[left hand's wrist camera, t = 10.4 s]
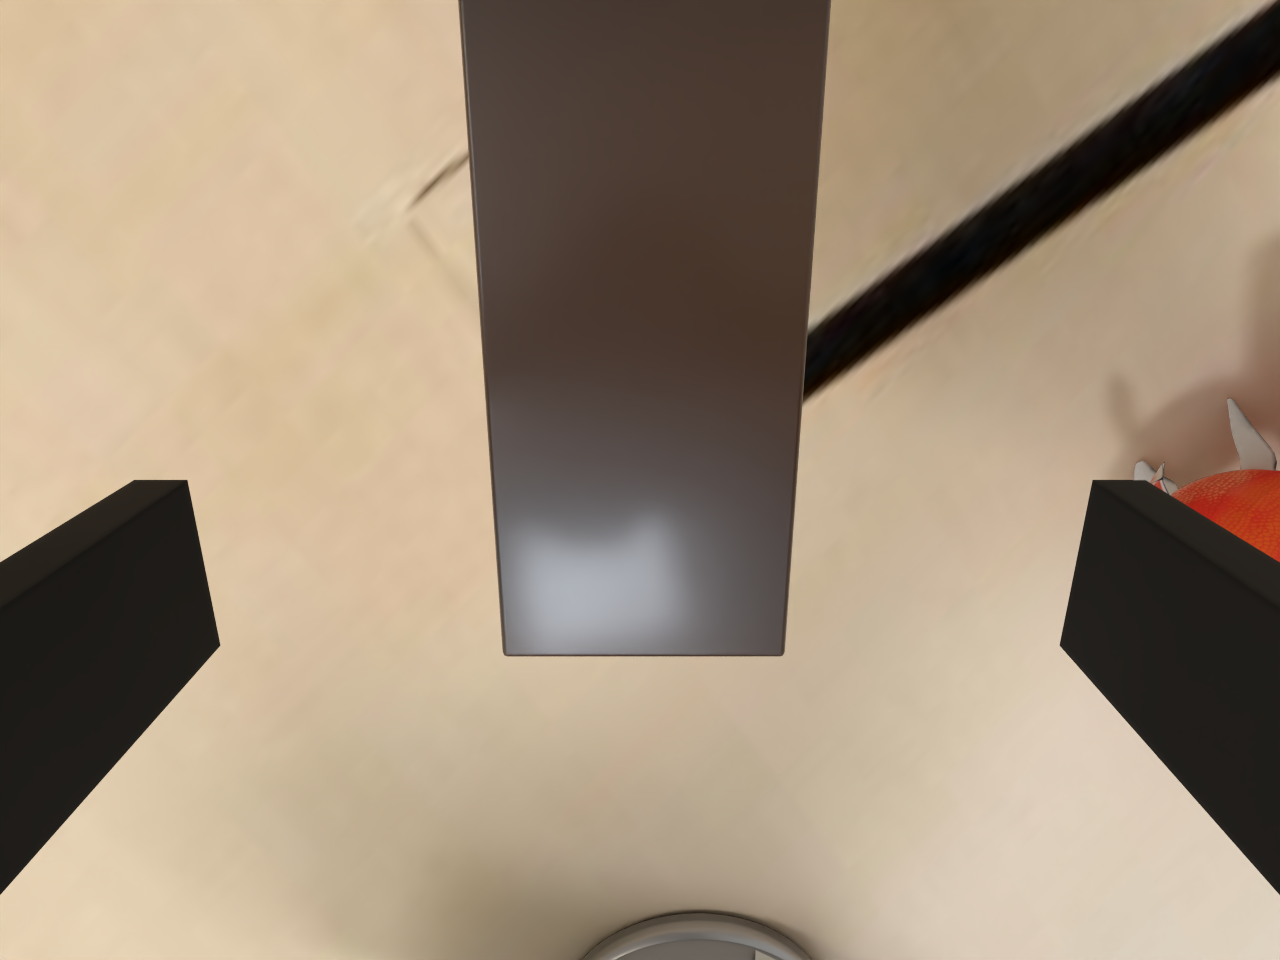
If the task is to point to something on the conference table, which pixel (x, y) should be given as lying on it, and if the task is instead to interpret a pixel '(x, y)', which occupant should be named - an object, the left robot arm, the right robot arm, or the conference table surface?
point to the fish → (1235, 489)
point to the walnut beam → (644, 312)
